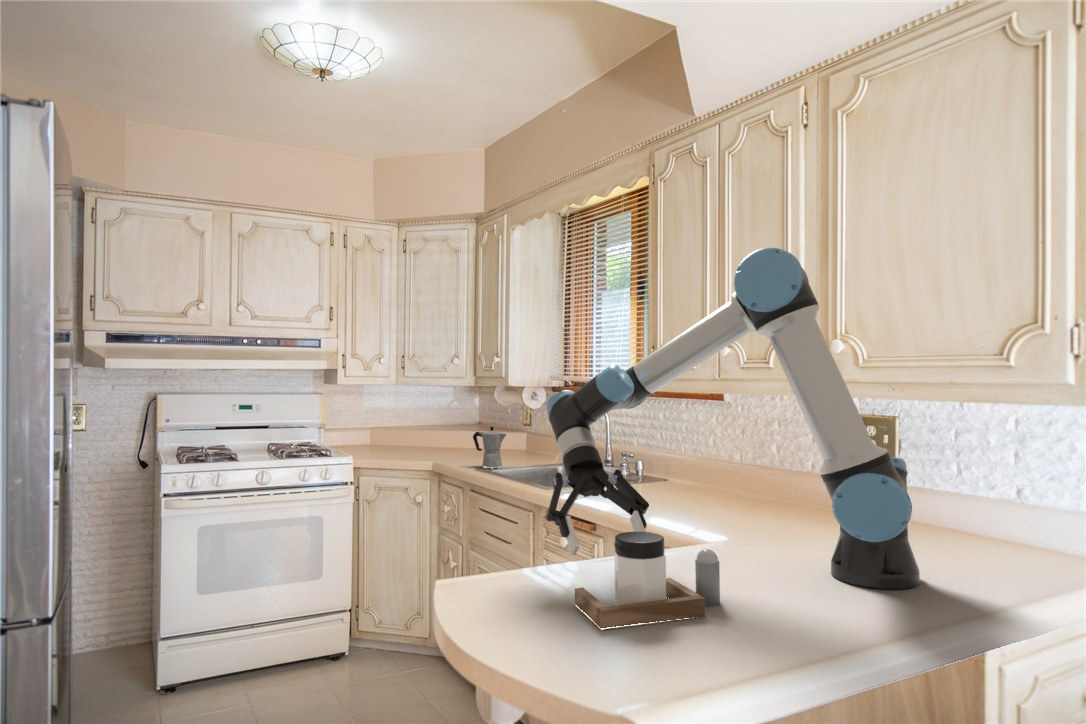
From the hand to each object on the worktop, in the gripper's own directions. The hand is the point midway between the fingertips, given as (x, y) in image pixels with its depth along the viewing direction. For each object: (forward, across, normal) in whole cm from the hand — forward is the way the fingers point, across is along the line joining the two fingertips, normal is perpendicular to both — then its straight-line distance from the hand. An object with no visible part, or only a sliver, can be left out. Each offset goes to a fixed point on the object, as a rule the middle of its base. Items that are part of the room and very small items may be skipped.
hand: (610, 548), depth 121 cm
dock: (+13, 0, +2) cm, 13 cm away
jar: (+13, -1, +2) cm, 13 cm away
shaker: (+13, -13, +2) cm, 19 cm away
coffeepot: (-117, -19, -128) cm, 175 cm away
